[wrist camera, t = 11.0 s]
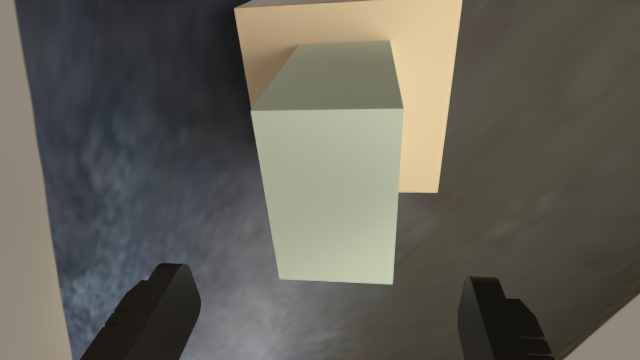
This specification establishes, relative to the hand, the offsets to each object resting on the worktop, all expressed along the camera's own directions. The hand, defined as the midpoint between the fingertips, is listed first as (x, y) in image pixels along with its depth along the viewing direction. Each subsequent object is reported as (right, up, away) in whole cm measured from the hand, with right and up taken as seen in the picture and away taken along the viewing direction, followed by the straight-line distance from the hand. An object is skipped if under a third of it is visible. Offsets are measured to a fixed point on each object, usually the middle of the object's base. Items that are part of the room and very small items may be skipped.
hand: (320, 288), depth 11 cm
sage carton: (+2, +7, +12) cm, 14 cm away
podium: (+2, +11, +17) cm, 20 cm away
